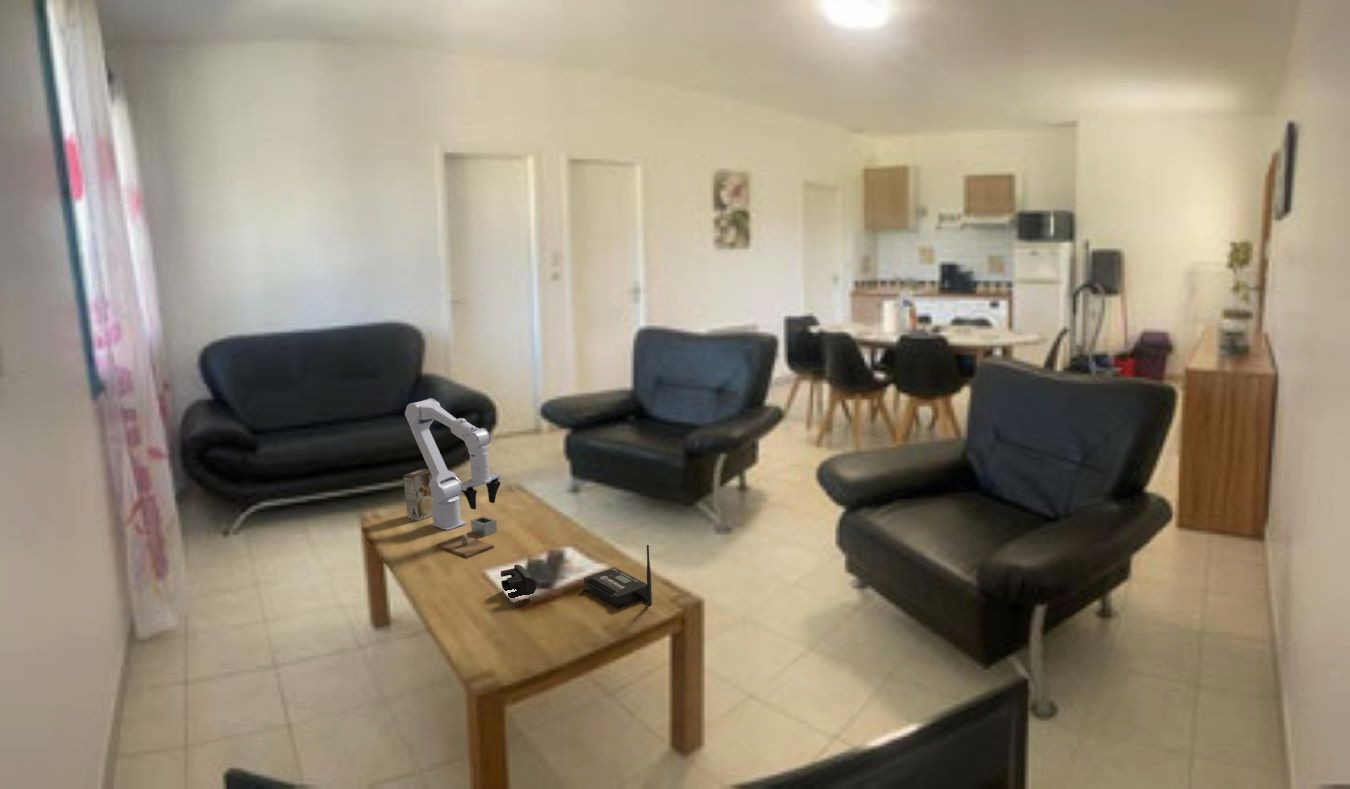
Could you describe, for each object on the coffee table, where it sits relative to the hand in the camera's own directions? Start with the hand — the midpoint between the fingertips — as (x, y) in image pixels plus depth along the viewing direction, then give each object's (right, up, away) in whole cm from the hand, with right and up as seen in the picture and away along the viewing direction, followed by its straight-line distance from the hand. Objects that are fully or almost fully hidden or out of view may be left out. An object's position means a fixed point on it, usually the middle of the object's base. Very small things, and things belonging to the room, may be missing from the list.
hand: (482, 505), depth 264 cm
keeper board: (-3, -12, -11) cm, 16 cm away
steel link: (0, -9, +2) cm, 9 cm away
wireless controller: (+49, -18, -48) cm, 71 cm away
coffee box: (-26, -7, +19) cm, 33 cm away
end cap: (+21, -18, -45) cm, 53 cm away
